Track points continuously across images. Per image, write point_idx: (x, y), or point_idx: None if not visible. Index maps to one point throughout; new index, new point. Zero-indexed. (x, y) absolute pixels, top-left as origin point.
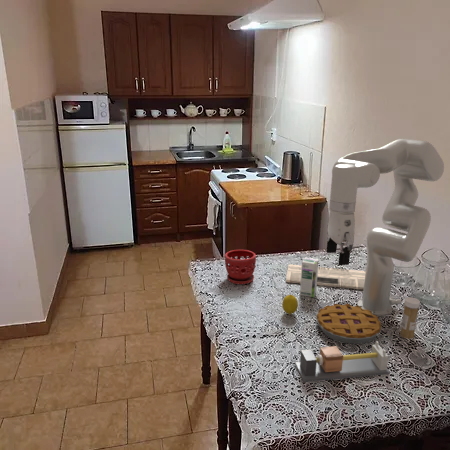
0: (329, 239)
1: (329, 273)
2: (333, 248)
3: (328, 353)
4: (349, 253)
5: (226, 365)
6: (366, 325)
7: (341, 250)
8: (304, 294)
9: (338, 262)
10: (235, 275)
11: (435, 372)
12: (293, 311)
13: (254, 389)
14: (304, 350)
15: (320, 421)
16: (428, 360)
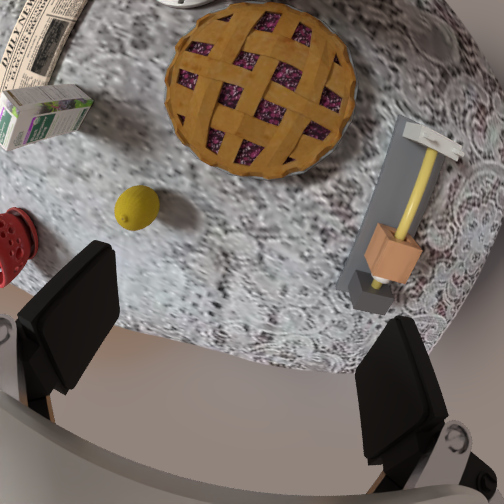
0: (50, 404)
1: (30, 34)
2: (93, 300)
3: (398, 272)
4: (440, 409)
5: (281, 365)
6: (320, 67)
7: (388, 481)
8: (80, 121)
9: (360, 386)
10: (26, 260)
11: (471, 56)
12: (159, 202)
13: (349, 356)
14: (358, 304)
15: (444, 313)
16: (441, 29)
